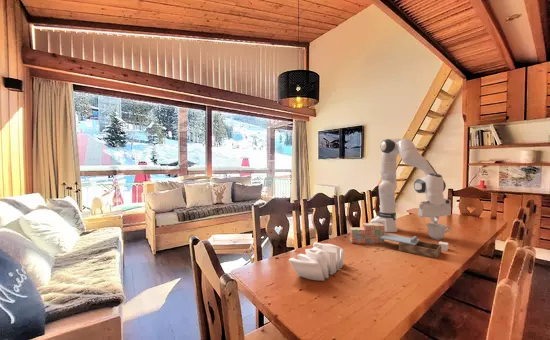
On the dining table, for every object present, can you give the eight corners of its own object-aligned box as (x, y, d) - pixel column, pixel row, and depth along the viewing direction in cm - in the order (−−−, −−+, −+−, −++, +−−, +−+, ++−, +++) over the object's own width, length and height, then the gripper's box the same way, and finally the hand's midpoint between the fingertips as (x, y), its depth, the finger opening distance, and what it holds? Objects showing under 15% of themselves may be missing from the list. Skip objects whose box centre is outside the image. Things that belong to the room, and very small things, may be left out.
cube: (438, 250, 152) (438, 243, 152) (439, 248, 156) (439, 241, 156) (447, 252, 149) (447, 244, 149) (448, 250, 153) (448, 242, 153)
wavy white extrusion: (313, 287, 109) (313, 263, 109) (285, 276, 120) (285, 254, 120) (351, 263, 134) (351, 244, 134) (324, 255, 146) (324, 237, 145)
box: (441, 253, 147) (441, 245, 147) (437, 259, 138) (437, 250, 138) (404, 245, 161) (404, 238, 161) (398, 251, 152) (398, 242, 152)
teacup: (455, 242, 167) (455, 227, 166) (432, 242, 167) (432, 227, 167) (443, 236, 179) (443, 223, 178) (422, 237, 179) (422, 223, 179)
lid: (419, 240, 154) (419, 236, 154) (415, 245, 146) (415, 240, 146) (385, 234, 168) (385, 230, 168) (380, 238, 160) (380, 234, 159)
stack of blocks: (351, 243, 167) (351, 225, 166) (349, 240, 173) (349, 222, 173) (384, 243, 166) (384, 225, 165) (380, 240, 172) (381, 223, 172)
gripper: (424, 202, 144) (423, 226, 145) (453, 200, 149) (452, 223, 149) (415, 200, 150) (415, 223, 151) (443, 199, 155) (443, 221, 155)
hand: (434, 223), depth 150 cm, fingers closed
